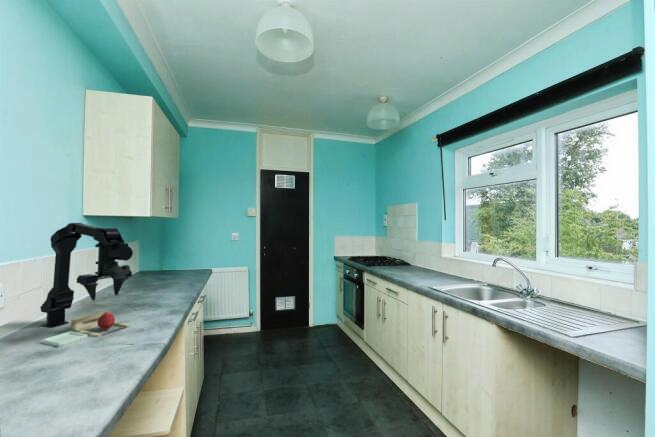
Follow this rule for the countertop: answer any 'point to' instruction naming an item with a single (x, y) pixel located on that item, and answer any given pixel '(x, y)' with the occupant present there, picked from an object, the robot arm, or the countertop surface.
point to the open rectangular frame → (92, 324)
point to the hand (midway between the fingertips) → (105, 297)
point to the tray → (64, 338)
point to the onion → (106, 321)
